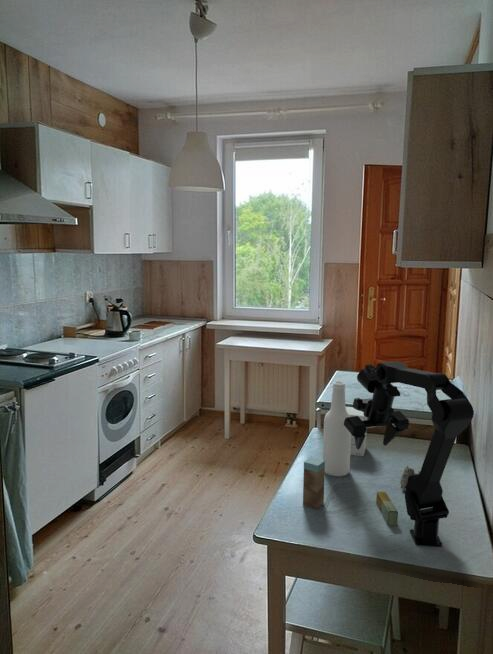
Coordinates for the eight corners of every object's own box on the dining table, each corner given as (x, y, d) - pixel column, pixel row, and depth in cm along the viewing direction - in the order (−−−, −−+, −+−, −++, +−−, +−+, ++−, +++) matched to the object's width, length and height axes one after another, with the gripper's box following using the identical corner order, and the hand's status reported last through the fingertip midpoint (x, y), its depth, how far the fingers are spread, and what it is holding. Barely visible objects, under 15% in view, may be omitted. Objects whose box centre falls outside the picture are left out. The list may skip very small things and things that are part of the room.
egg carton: (406, 476, 164) (406, 464, 164) (430, 482, 160) (431, 469, 160) (397, 489, 155) (397, 477, 155) (422, 495, 151) (423, 482, 151)
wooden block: (323, 503, 146) (325, 460, 144) (316, 509, 143) (318, 465, 141) (309, 498, 149) (311, 456, 147) (302, 505, 145) (303, 461, 143)
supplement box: (341, 444, 190) (343, 405, 188) (366, 447, 187) (367, 408, 185) (338, 453, 181) (339, 413, 179) (363, 457, 179) (365, 416, 176)
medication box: (397, 526, 135) (398, 512, 134) (387, 526, 135) (388, 512, 134) (384, 503, 147) (385, 490, 146) (375, 503, 147) (376, 490, 146)
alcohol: (334, 463, 173) (337, 377, 168) (355, 472, 167) (358, 383, 162) (316, 470, 167) (319, 382, 163) (338, 480, 161) (341, 388, 156)
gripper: (394, 384, 154) (383, 427, 160) (339, 389, 148) (330, 433, 154) (416, 404, 144) (403, 449, 151) (358, 411, 138) (348, 457, 145)
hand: (371, 446), depth 150 cm, fingers open, 9 cm apart
